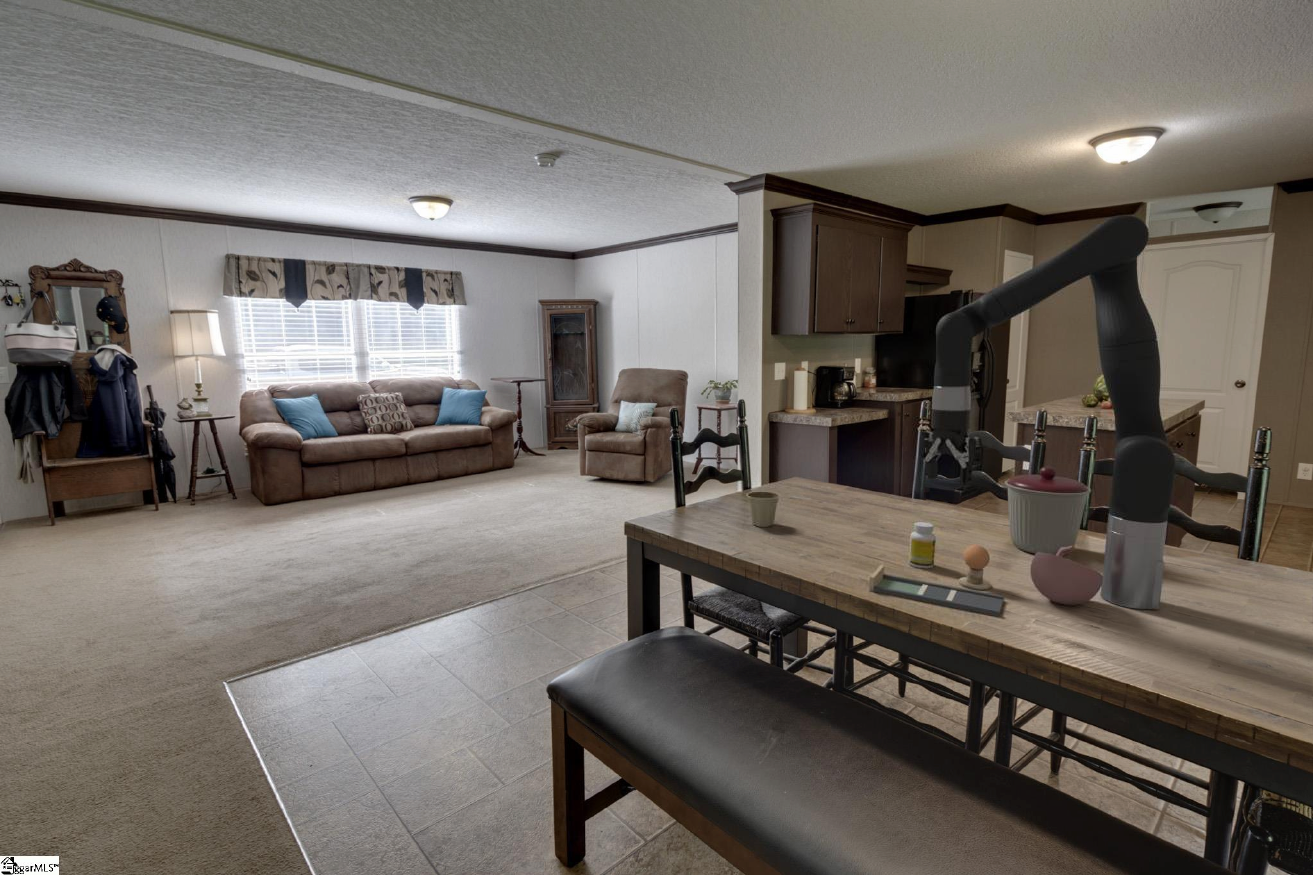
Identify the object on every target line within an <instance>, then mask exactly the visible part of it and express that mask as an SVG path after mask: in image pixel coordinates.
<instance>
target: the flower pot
mask: <svg viewBox="0 0 1313 875" xmlns="http://www.w3.org/2000/svg"><path fill="white" fill-rule="evenodd" d="M746 497H747V500H748V502H749V511H750V520H751V525H753V526H757V527H760V528H762V527H763V528H767V527H768V528H769V527H771V526H774V525H775V519H776V513H777V506H778V505H777V504H778V502H779V498H781V495H780V494H779V493H777V492H772V491H763V490H762V491H752V492H747V493H746Z"/></svg>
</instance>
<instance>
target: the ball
mask: <svg viewBox="0 0 1313 875" xmlns="http://www.w3.org/2000/svg"><path fill="white" fill-rule="evenodd" d="M962 557H963V561H964V562H965V565H967V567H971V568H973V569H982V568H983V569H984V568H986V567H987V566H988V565H989V563H990V559H991V558H990V554H989V552H988V550H987V549H986V548H985V547H984V546H981V545H979V544H978V545H975V544H974V545H970V546H968V547H966V549H965V550H964V551H963V556H962Z"/></svg>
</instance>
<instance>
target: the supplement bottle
mask: <svg viewBox="0 0 1313 875" xmlns="http://www.w3.org/2000/svg"><path fill="white" fill-rule="evenodd" d="M913 527H914V530H915V531H912V532H911V534H910V537H909V539H910V540H909V555H908V564H909V565H910V566H912V567H914V568H919V569H932V568H933V567H934V566H935V552H936V536H935V534H934V533H933V532H934V525H933V523H929V522H924V521H920V522H914V526H913Z"/></svg>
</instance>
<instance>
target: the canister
mask: <svg viewBox="0 0 1313 875" xmlns="http://www.w3.org/2000/svg"><path fill="white" fill-rule="evenodd" d="M1004 484H1005V485H1006V487H1007V501H1008V502H1007V503H1008V504H1007V505H1008V506H1007V507H1008V522H1009V523H1008V524H1009V525H1008V526H1009V534H1010V539H1011V543H1012V544H1013V545H1014V547H1016V548H1018V549H1020V551H1021V550H1022V551H1024V552H1027V553H1031V554H1034V555H1035V554H1036V553H1037V552H1042V553H1051V554H1053V555H1056V554H1057V552H1058V551H1059V549H1060V548H1061V547H1069V546H1074V547H1075V545H1076V543H1077V539H1078V535H1079V531H1080V528H1081V524H1082V519H1083V515H1084V511H1085V506H1086V502H1087V497H1088V495H1089V494H1091V491H1092V489H1091V488H1090V487H1088V486H1086V485H1085V484H1084V483H1083V482H1081V481H1078V480H1075V479H1072V478H1069V477H1063V476H1062V477H1061V476H1057V470H1056V468H1054V467H1052V466H1042V467H1041V468H1040V469H1039V474H1021V475H1015V476H1012V477H1011V478H1009V479H1006V480H1005V481H1004ZM1069 553H1070V552H1067V553H1065V554H1064V556H1065V555H1068V554H1069Z"/></svg>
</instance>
